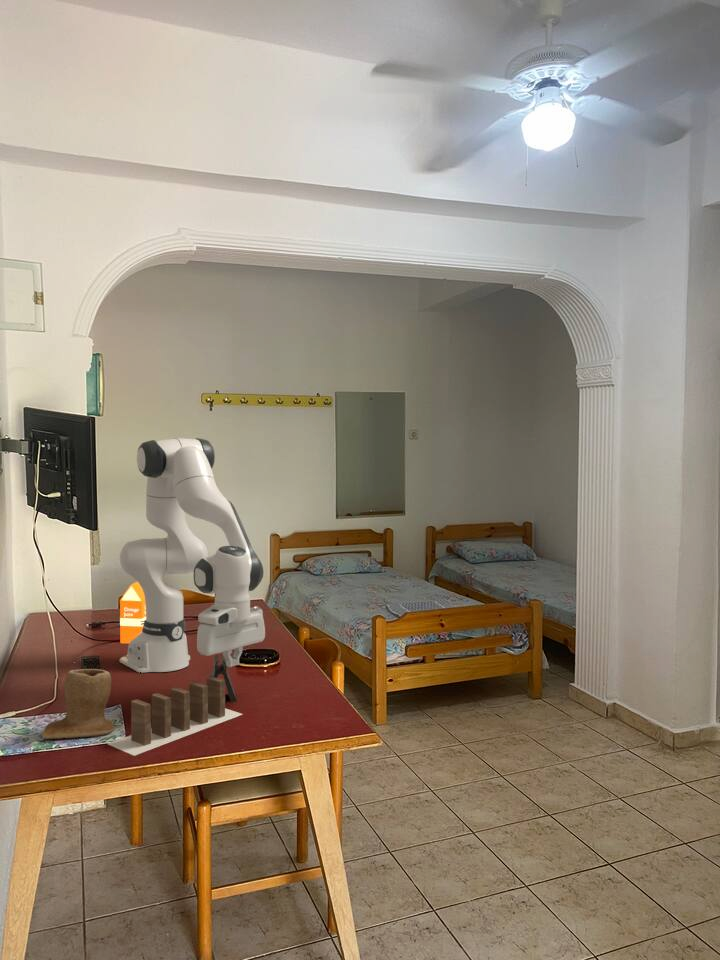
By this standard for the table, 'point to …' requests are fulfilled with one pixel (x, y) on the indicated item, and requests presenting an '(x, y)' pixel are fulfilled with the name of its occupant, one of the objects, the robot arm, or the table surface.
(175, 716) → the domino
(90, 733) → the brown boot
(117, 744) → the board
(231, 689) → the dark grey a-frame stand
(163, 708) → the domino
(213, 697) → the domino
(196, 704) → the domino
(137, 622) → the orange juice
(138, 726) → the domino
